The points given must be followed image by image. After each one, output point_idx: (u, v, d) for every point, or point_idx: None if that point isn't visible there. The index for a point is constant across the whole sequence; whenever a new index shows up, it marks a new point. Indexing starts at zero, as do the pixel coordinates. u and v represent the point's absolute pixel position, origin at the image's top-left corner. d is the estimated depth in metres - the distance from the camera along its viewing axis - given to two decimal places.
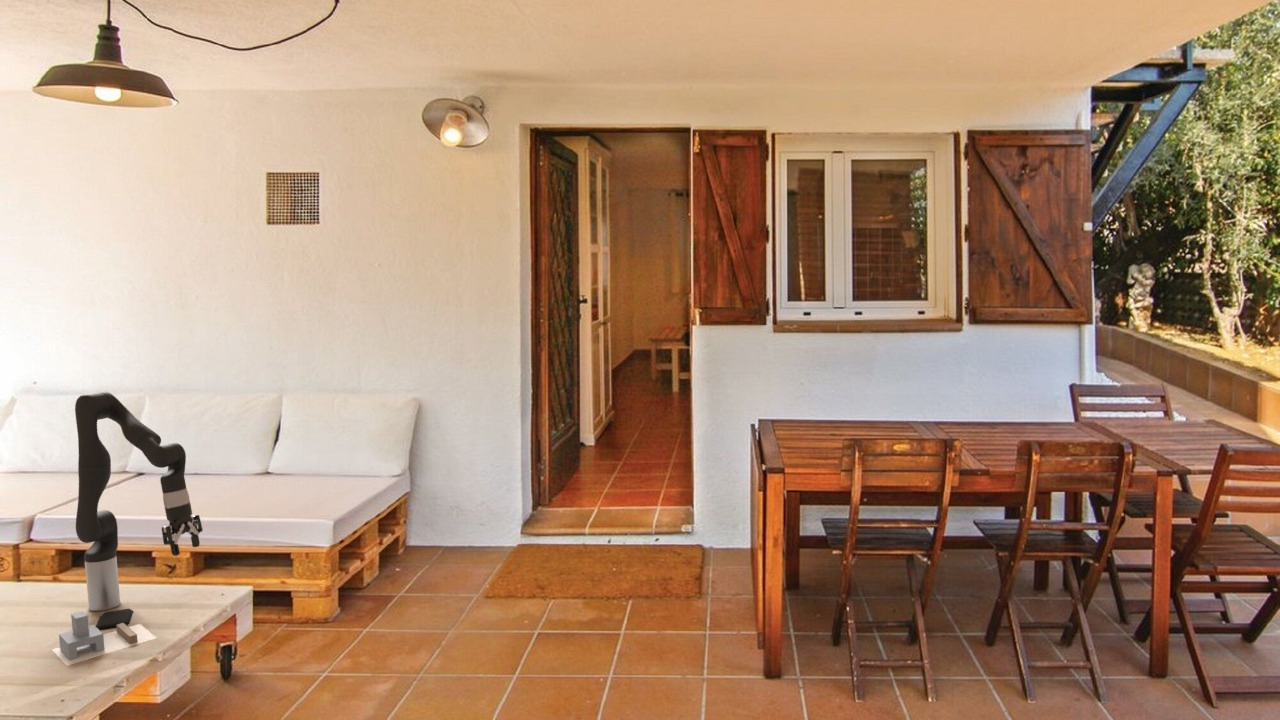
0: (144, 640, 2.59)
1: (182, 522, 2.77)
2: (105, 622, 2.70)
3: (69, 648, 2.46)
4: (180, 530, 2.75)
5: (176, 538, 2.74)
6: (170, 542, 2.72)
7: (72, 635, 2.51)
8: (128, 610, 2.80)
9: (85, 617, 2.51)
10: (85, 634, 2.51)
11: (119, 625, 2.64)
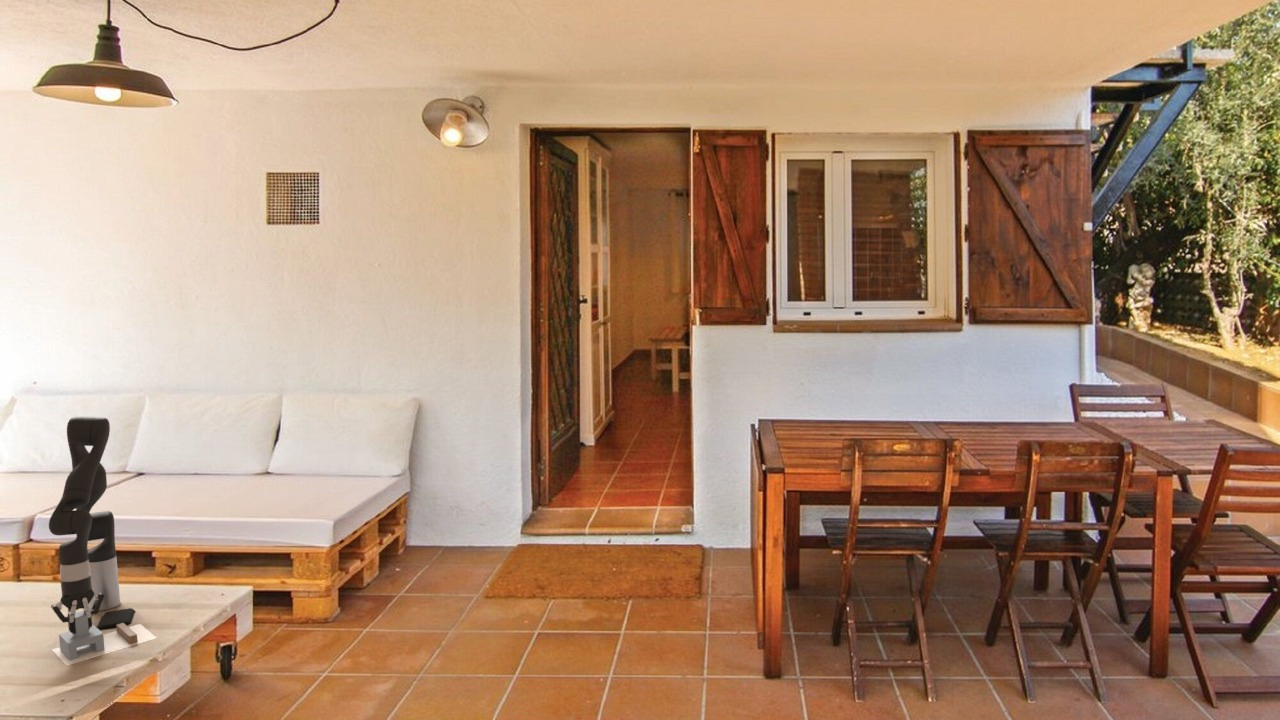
0: (144, 640, 2.59)
1: (76, 597, 2.50)
2: (107, 621, 2.71)
3: (69, 648, 2.46)
4: (73, 607, 2.49)
5: (71, 616, 2.49)
6: (63, 620, 2.48)
7: (72, 635, 2.51)
8: (130, 610, 2.80)
9: (85, 617, 2.51)
10: (85, 634, 2.51)
11: (119, 625, 2.64)
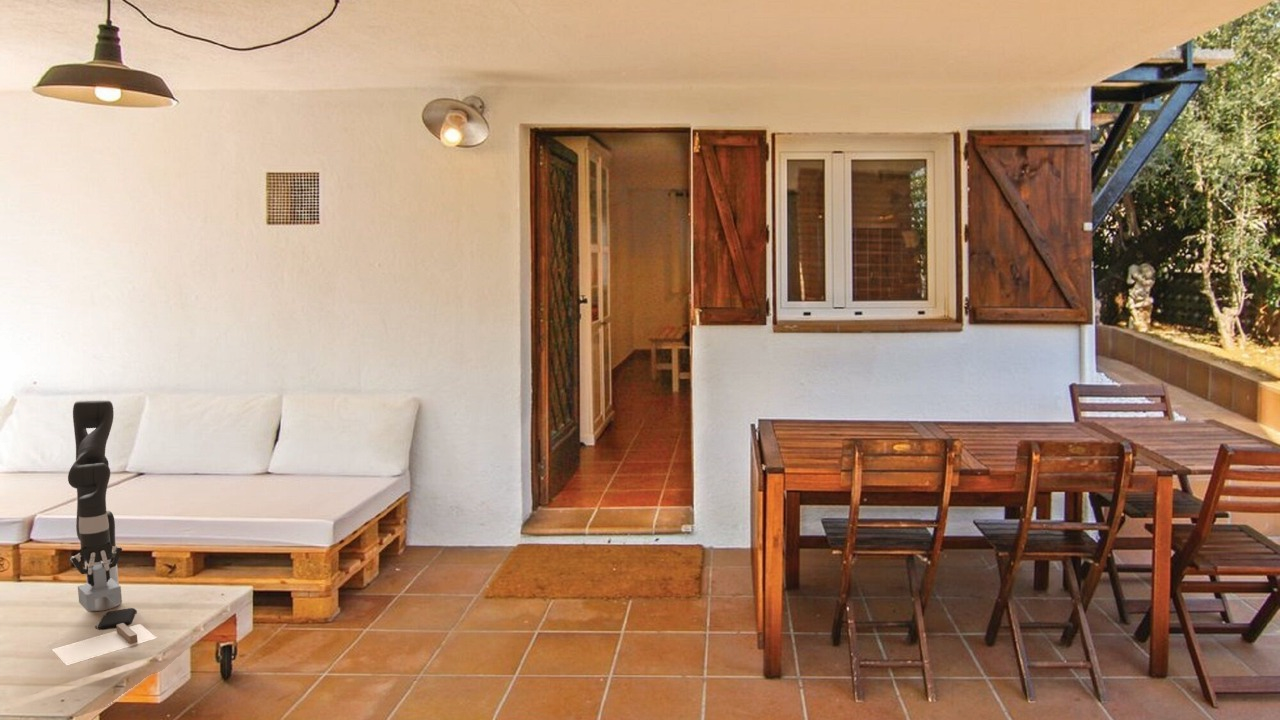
0: (144, 640, 2.59)
1: (95, 550, 2.53)
2: (107, 621, 2.71)
3: (87, 599, 2.49)
4: (91, 560, 2.52)
5: (89, 568, 2.52)
6: (82, 572, 2.51)
7: (90, 587, 2.54)
8: (131, 609, 2.80)
9: (103, 569, 2.54)
10: (103, 586, 2.54)
11: (119, 625, 2.64)
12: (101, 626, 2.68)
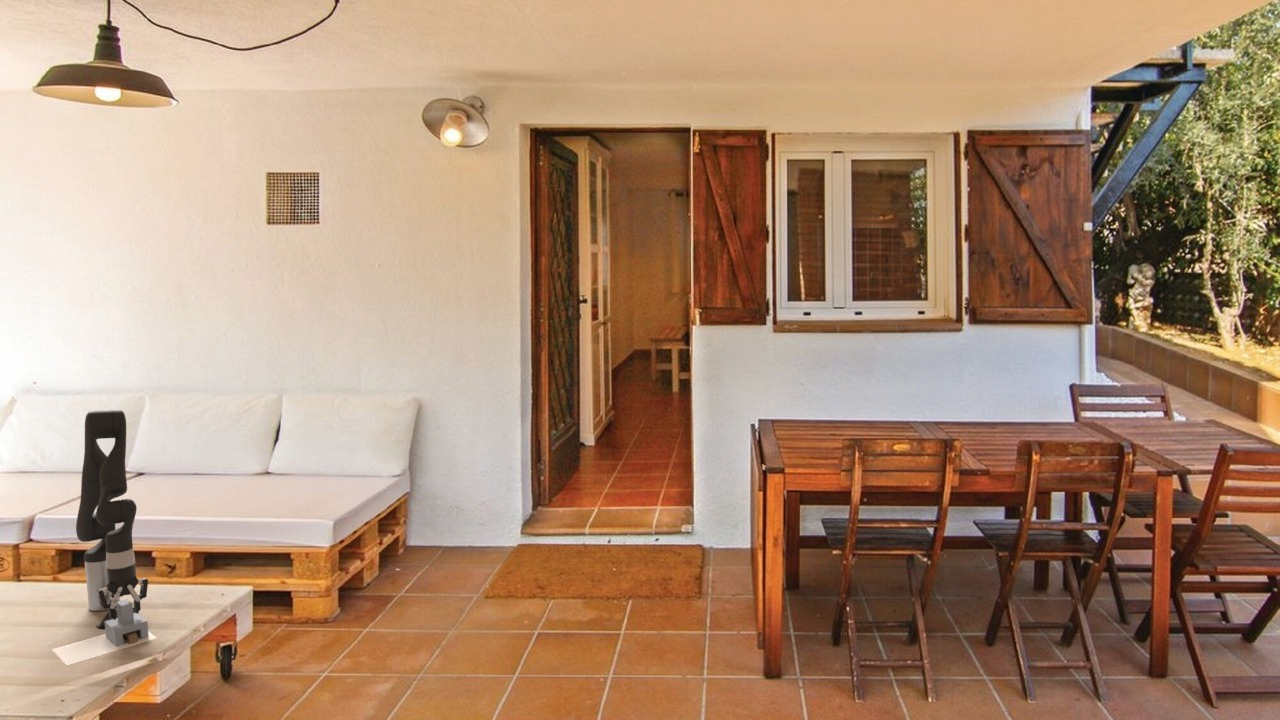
0: (144, 640, 2.59)
1: (121, 584, 2.59)
2: None
3: (115, 634, 2.55)
4: (117, 594, 2.57)
5: (113, 602, 2.57)
6: (104, 606, 2.55)
7: (117, 622, 2.60)
8: (133, 609, 2.80)
9: (130, 605, 2.60)
10: (130, 621, 2.60)
11: None
12: (102, 626, 2.68)
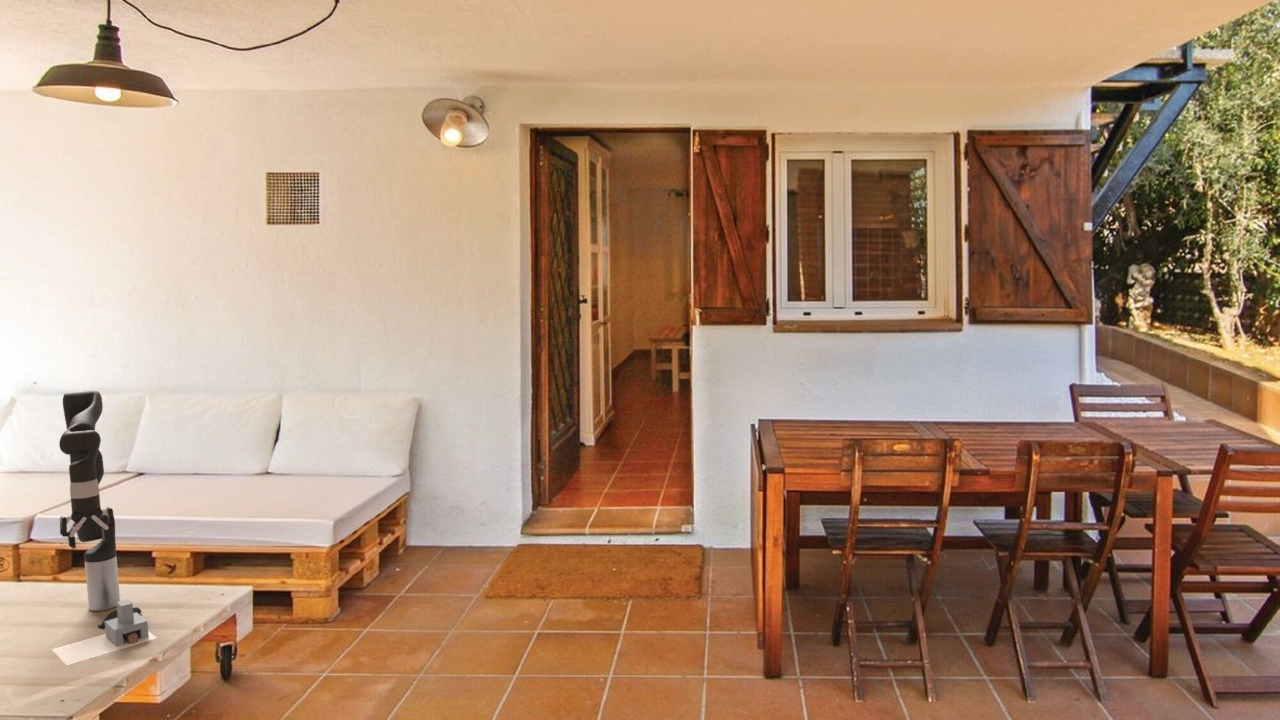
0: (144, 640, 2.59)
1: (86, 515, 2.61)
2: None
3: (115, 634, 2.55)
4: (79, 523, 2.59)
5: (73, 531, 2.58)
6: (63, 534, 2.57)
7: (117, 622, 2.60)
8: (135, 609, 2.81)
9: (130, 605, 2.60)
10: (130, 621, 2.60)
11: None
12: (103, 625, 2.69)
